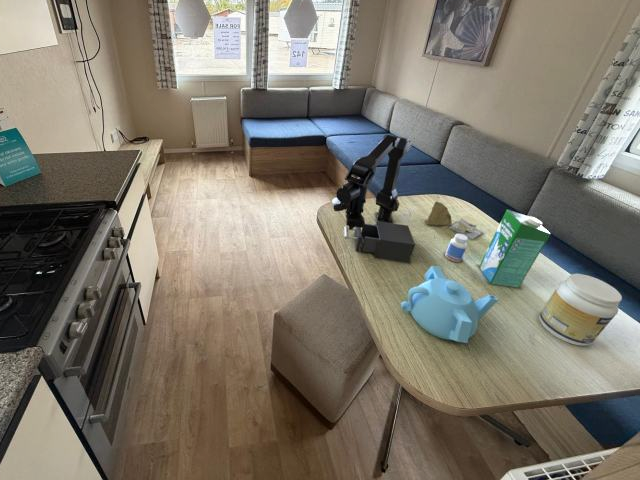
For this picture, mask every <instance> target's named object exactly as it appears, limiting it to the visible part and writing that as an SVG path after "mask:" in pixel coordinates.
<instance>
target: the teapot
mask: <svg viewBox="0 0 640 480" xmlns="http://www.w3.org/2000/svg"><path fill="white" fill-rule="evenodd" d="M498 302H499V298H498V297H497V295H492V294H488V295H485V296H483V297H481V298H479V299H477V300H474V298H473V296H472V294H471V292H470V291H469V290H468V289H467V288H466V287H465V286H464V285H462V284H461V283H459V282H457V281H456V280H453V279H450V278H446V276H445V274H444V271H443V269H442V268H441V266H440V265H431V266H430V267H429V268H428V270H426V272H425V273H424V282H422V283H421V284H419V285H418V286H414V287H411V288H410V289H409V290H408V293H407V301H406V300H404V301H402V302H401V304H400V308H401V310H403V311H404V312H407V313H409V312H410V314H411V316H412V318H413V319H414V320H415V322H416V323H417V325H419V326H420V328H422V329H423V330H424V331H426V332H427V333H429V334H431V335H432V336H434V337H436V338H439V339H442V340H448V341H455V342H458V343H463V344H468V342H469V338H471V337H472V336H473V335H475V333H476V331H477V327H478V322H479V321H480V319H481V318H482V317H484V316H485V314H486V313H487V312H488V311H489V310H491V308H493V307H494V305H496V304H497V303H498Z"/></svg>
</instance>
